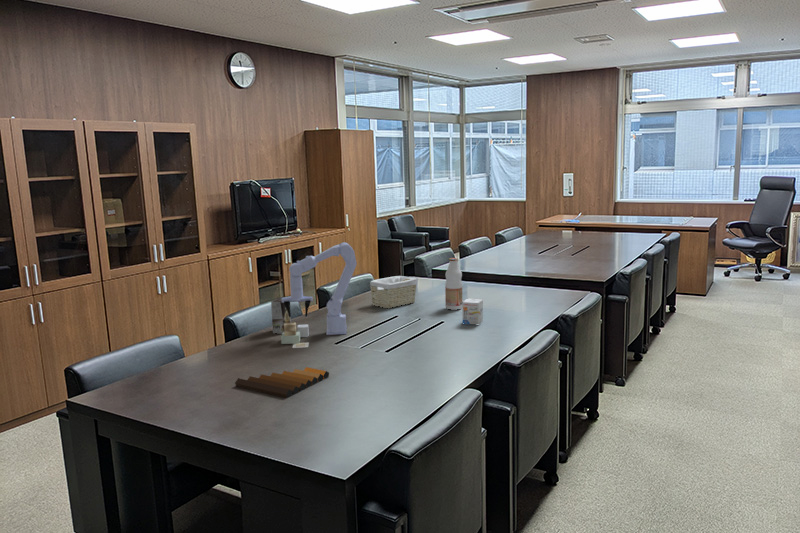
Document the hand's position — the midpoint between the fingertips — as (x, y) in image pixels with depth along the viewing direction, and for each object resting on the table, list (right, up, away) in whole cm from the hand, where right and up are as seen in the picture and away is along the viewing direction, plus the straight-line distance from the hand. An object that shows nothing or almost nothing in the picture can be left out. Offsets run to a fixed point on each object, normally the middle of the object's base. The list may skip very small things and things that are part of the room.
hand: (298, 316), depth 296 cm
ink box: (+85, -5, +16) cm, 87 cm away
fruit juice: (+79, 0, +47) cm, 92 cm away
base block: (-2, -11, -8) cm, 14 cm away
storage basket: (+45, +2, +61) cm, 76 cm away
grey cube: (+2, -10, +1) cm, 10 cm away
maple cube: (-2, -8, -9) cm, 12 cm away
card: (+4, -12, -15) cm, 20 cm away
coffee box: (-9, -8, +10) cm, 16 cm away
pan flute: (+4, -21, -60) cm, 64 cm away
